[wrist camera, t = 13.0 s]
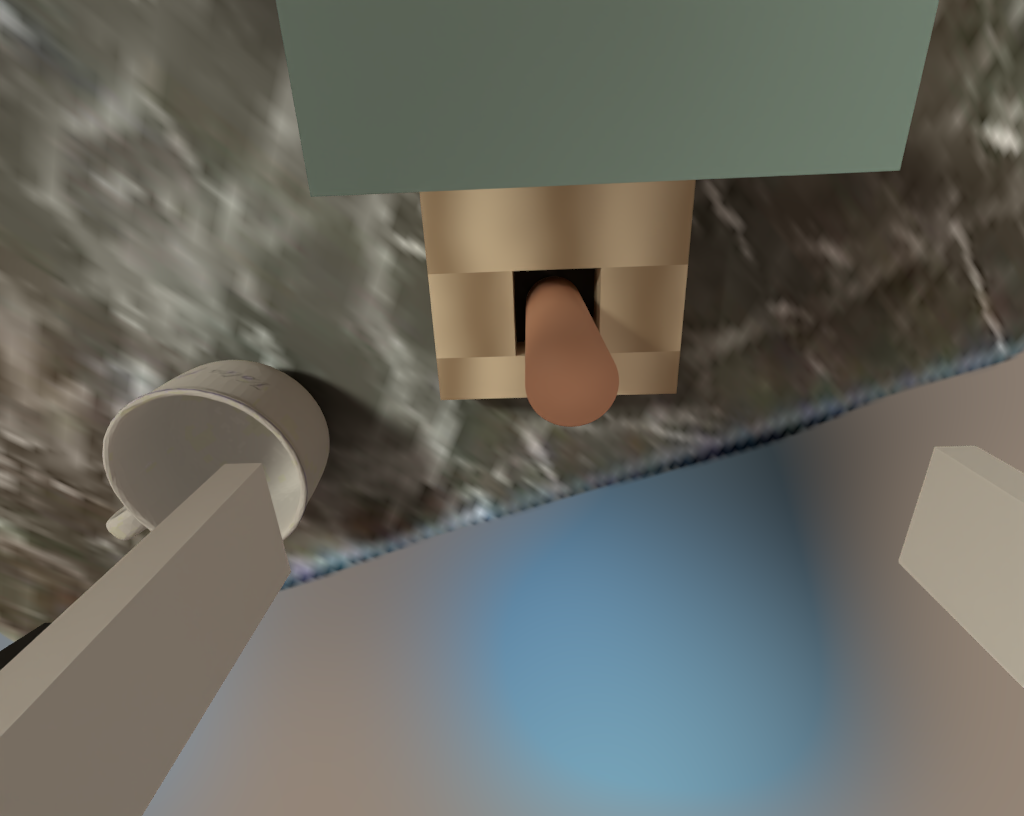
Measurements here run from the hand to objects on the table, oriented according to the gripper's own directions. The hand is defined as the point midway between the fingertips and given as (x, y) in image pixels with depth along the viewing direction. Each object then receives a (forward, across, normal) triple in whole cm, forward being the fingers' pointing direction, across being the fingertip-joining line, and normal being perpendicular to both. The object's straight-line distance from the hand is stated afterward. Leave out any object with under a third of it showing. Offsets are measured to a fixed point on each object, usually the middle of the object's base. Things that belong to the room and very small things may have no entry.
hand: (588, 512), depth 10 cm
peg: (+23, 0, 0) cm, 23 cm away
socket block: (+23, 0, +2) cm, 23 cm away
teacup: (+23, -20, -8) cm, 32 cm away
